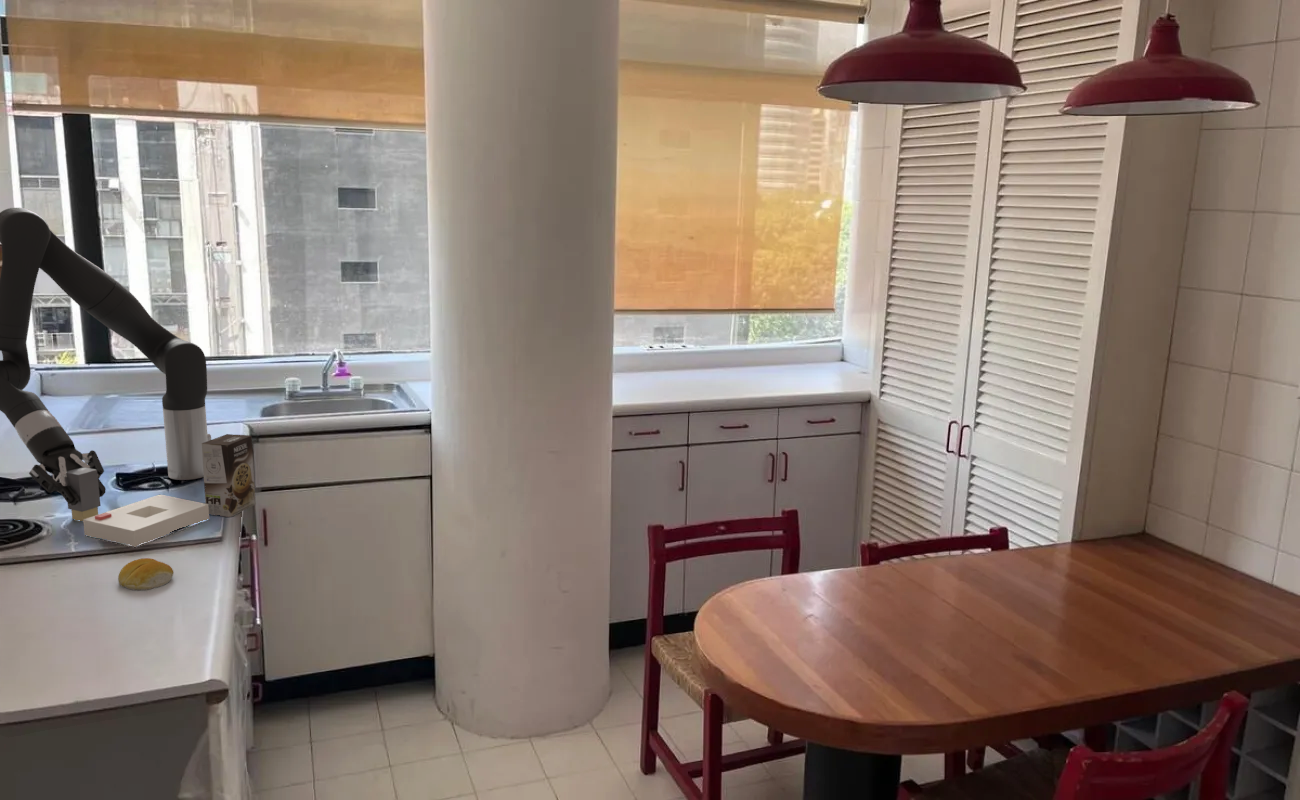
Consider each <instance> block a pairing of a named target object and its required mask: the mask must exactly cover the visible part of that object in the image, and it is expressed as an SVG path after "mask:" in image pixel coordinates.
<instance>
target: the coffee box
mask: <svg viewBox="0 0 1300 800" xmlns="http://www.w3.org/2000/svg"><path fill="white" fill-rule="evenodd" d="M202 457H203V473H204V477H203V486H204V501H205V502H204V503H205V504H208V507H209V514H211V516H217V515H220V517H227V518H231V517H234V516H235V515H238V514H240V513H242V512H244V511H246V510H248V509H250V508H252V507H254V506H256V490H255V489H256V488H255V487H256V485H255V471H254V453H253V438H252V435H247V434H232V433H231V434H228V433H226V434H224V435H221V436H219V437H216V438H215V437H214V438H211V440H210V441H207V442H204V443H202Z"/></svg>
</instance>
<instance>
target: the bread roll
mask: <svg viewBox="0 0 1300 800" xmlns="http://www.w3.org/2000/svg"><path fill="white" fill-rule="evenodd" d="M173 576H174V569H173V568H172V566H170V565H169V564H167V563H165V562H163V561H158V560H156V559H154V558H151V557H150V558H149V557H147V558H144V557H143V558H138V559H134V560H132V561H130V562H128V563H127V564H125V565H124V566H123V567H122V568H121V569H120V571H119V573H118V578H117V581H118V583H119V585H120V587H122V588H127V589H128V590H129V591H130V590H132V591H146V590H151V589H155V588H160V587H162V586H165V585H167V584H168V583H170V582H171V579H172V578H173Z"/></svg>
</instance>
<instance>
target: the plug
mask: <svg viewBox="0 0 1300 800" xmlns="http://www.w3.org/2000/svg"><path fill="white" fill-rule="evenodd" d="M66 473H67V482H68V485H67V486H71V488H72V489H73V490H74V492H75V493H76V495H77V496H78V497H79V501H78V503H77V504H76V505H71V504H69V503H68V502H67V501H66V503H67V509H69V510H71V518H72V519H75V520H74V521H76V520H80V521H83V519H86V518H89V517H93V516H96V515H99V507H101V497H100V495H99V485H98V475H97V470H96V469H91V468H85V467H84V468H83V467H81V468H77V469H74V470H70V471H67V472H66ZM80 521H79V522H80Z"/></svg>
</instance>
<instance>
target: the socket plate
mask: <svg viewBox="0 0 1300 800" xmlns="http://www.w3.org/2000/svg"><path fill="white" fill-rule="evenodd" d="M207 519H209V520H210V515H209V507H208V504H205V502H198V501H195V500H189V499H184V498H179V497H174V496H169V495H164V494H158V495H154V496H150V497H147V498H145V499H142V500H139V501H135V502H132V503H130V504H127V505H124V506H123V505H122V506H121V507H118V508H114V509H112V510H111V509H110V510H108V511H106V512H105V511H104V512H102V513H98V515H96V516H93V517H89V518H86V519H83V522H82V524H83V529H84V530H83V531H84V536H85V535H87V536H91V537H96V538H102V539H107V540H111V541H116V542H120V543H126V544H130V545H132V546H134V547H136V546H137V545H139V544H141V543H144V542H148V541H150V540H153V539H155V538H158V537H161V536H164V535H166V534H169V533H170V532H172V531H174V530H177V529H179V528H182V527H186V526H188V525H191V524H194V523H198V522H200V521H203V520H207ZM87 536H86V537H87ZM91 537H90V538H91ZM134 547H133V548H134ZM136 548H137V547H136Z"/></svg>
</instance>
